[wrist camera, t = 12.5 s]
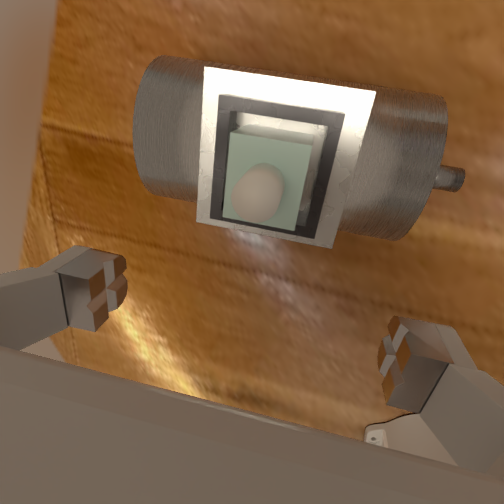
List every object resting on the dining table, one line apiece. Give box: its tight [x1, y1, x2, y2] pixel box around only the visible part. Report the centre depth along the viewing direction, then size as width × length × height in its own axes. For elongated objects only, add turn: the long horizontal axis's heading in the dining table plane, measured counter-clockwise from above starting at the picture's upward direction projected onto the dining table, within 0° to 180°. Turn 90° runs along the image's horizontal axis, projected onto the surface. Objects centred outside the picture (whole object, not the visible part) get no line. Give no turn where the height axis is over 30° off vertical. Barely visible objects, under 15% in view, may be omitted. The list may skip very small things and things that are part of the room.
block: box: [223, 124, 314, 231], centre depth 19 cm, size 5×4×8 cm
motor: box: [133, 55, 465, 249], centre depth 28 cm, size 12×26×16 cm, turn 82°
